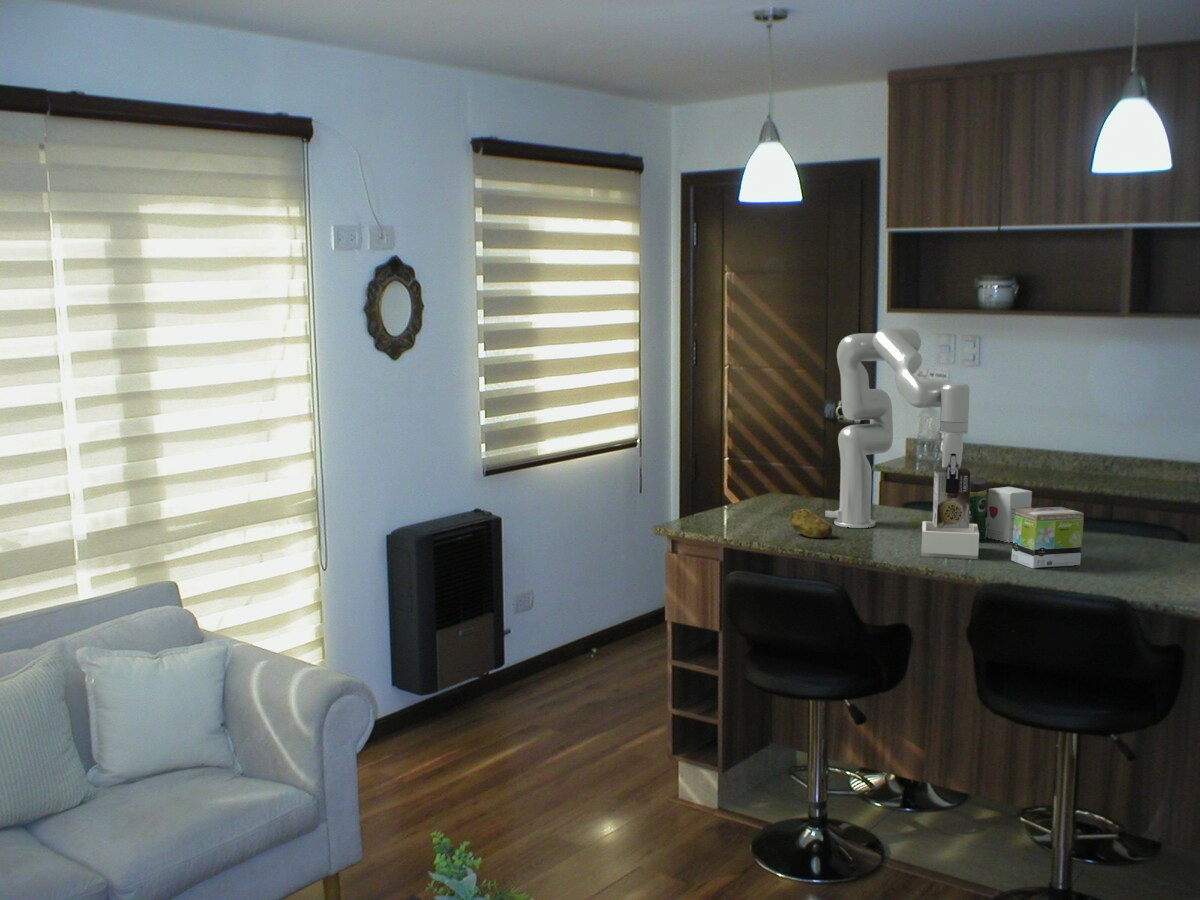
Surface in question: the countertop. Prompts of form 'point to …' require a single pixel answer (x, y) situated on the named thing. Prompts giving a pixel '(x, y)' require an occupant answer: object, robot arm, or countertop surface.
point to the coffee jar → (978, 504)
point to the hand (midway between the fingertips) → (951, 490)
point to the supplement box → (1005, 511)
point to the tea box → (1047, 537)
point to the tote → (950, 541)
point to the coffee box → (951, 500)
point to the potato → (809, 524)
